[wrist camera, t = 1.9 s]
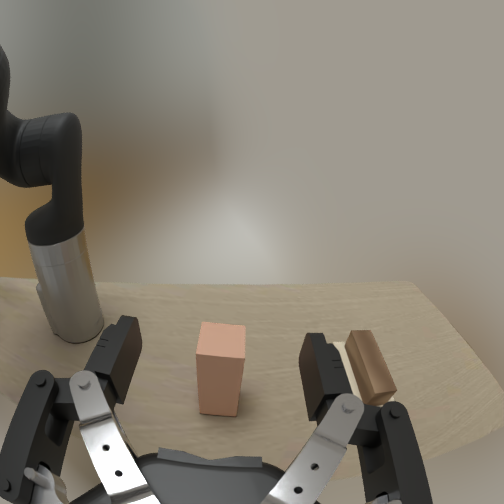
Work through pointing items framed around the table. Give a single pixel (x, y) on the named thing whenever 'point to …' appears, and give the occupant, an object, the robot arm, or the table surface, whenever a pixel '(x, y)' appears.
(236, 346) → the block
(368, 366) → the stand
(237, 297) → the table surface
